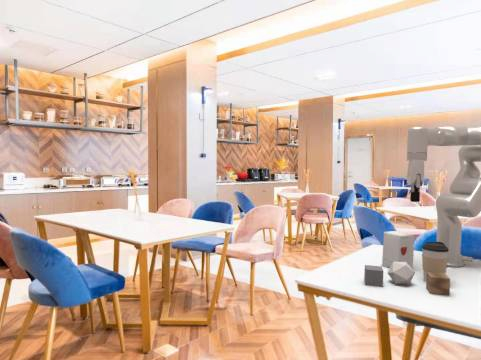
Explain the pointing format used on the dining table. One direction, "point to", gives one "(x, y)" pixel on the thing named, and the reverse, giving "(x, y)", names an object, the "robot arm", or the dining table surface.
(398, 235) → the supplement box
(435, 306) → the dining table surface
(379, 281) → the charcoal block
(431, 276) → the walnut block
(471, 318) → the dining table surface
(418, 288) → the dining table surface
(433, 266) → the coffee cup
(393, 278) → the die
